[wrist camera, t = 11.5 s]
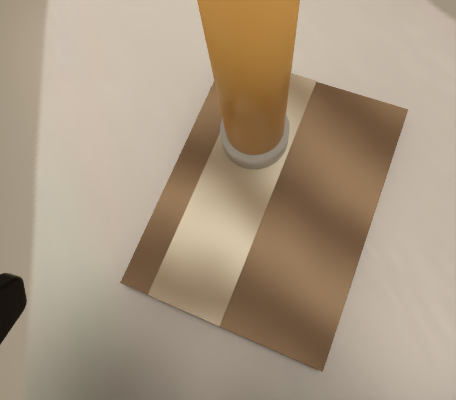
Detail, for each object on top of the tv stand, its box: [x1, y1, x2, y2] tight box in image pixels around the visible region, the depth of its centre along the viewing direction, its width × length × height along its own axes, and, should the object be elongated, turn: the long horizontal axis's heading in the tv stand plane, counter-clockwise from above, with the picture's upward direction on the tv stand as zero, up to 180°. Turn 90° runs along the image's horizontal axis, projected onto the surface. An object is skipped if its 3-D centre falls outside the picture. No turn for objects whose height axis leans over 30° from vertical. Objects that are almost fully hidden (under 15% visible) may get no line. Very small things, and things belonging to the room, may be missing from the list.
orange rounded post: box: [197, 0, 300, 169], centre depth 17 cm, size 4×4×13 cm
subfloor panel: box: [121, 74, 408, 372], centre depth 23 cm, size 16×12×1 cm
